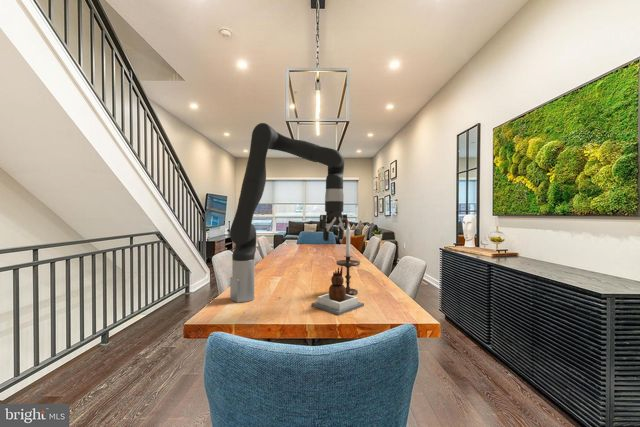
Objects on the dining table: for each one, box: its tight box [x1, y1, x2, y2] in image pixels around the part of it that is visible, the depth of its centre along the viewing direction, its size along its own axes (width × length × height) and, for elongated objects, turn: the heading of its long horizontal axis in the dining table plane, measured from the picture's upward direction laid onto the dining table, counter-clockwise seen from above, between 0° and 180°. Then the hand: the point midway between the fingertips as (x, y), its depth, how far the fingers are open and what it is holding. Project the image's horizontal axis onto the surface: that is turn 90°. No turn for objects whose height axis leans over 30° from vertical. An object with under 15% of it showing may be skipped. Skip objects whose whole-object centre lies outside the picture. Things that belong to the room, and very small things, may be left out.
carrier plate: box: [311, 293, 365, 316], centre depth 117 cm, size 15×15×4 cm
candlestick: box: [335, 218, 361, 296], centre depth 135 cm, size 11×11×35 cm
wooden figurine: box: [328, 266, 346, 302], centre depth 117 cm, size 7×6×15 cm
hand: (333, 240), depth 118 cm, fingers open, 8 cm apart
